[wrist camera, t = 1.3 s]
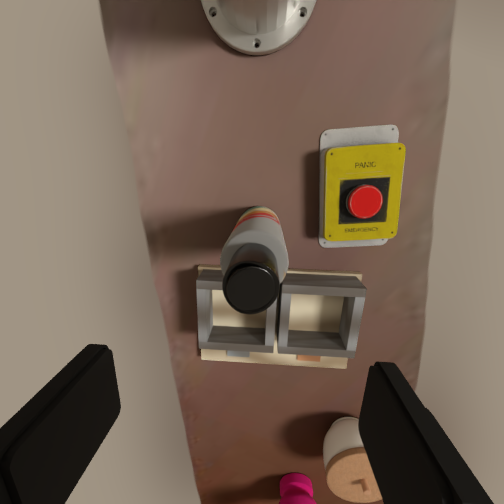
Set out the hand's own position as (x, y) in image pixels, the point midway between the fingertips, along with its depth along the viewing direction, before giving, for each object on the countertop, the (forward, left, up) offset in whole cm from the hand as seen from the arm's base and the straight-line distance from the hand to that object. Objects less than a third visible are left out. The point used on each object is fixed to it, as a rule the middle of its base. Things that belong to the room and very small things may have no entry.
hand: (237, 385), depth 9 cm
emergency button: (-5, +12, -28) cm, 31 cm away
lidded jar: (+36, +17, -28) cm, 48 cm away
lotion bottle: (0, 0, -27) cm, 27 cm away
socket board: (+14, +3, -27) cm, 31 cm away
